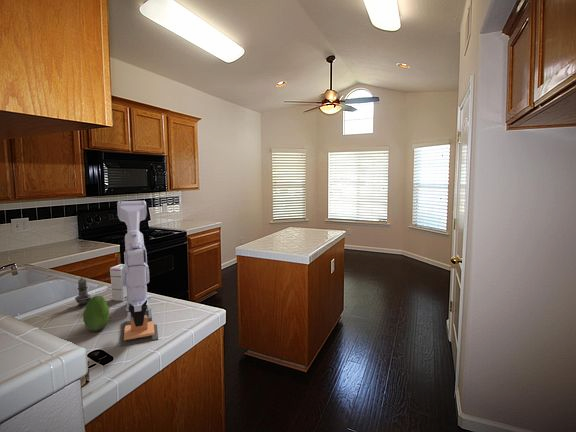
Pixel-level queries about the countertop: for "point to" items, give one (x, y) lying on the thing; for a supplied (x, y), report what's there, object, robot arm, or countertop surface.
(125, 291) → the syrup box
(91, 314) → the avocado
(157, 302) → the countertop surface
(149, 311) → the box
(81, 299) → the candlestick holder
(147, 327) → the lid
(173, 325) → the countertop surface
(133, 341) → the mat
